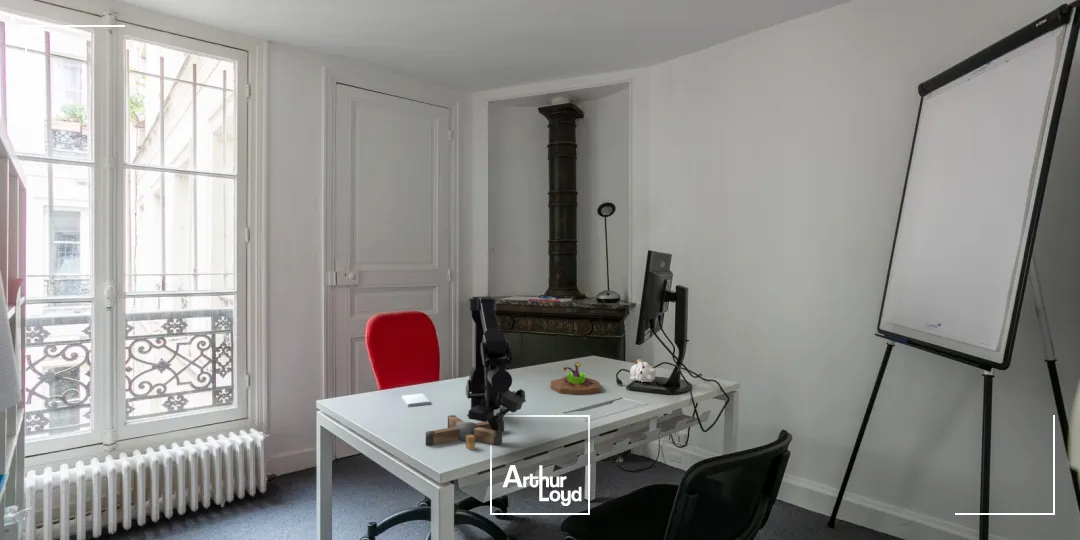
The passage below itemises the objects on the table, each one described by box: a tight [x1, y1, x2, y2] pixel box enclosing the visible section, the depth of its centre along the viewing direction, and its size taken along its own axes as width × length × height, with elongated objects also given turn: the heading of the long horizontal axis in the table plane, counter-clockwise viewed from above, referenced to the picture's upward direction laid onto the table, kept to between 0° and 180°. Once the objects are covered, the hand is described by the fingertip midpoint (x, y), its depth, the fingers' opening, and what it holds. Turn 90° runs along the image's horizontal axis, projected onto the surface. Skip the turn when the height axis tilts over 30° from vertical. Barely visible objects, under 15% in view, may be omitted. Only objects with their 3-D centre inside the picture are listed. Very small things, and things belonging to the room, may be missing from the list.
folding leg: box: [474, 427, 503, 446], centre depth 158 cm, size 9×3×3 cm, turn 60°
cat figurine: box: [629, 358, 657, 383], centre depth 231 cm, size 10×8×15 cm
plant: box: [550, 361, 602, 396], centre depth 220 cm, size 20×20×11 cm
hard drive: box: [401, 393, 432, 408], centre depth 201 cm, size 2×8×12 cm
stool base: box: [425, 414, 505, 451], centre depth 163 cm, size 22×25×4 cm
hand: (496, 435), depth 159 cm, fingers closed
